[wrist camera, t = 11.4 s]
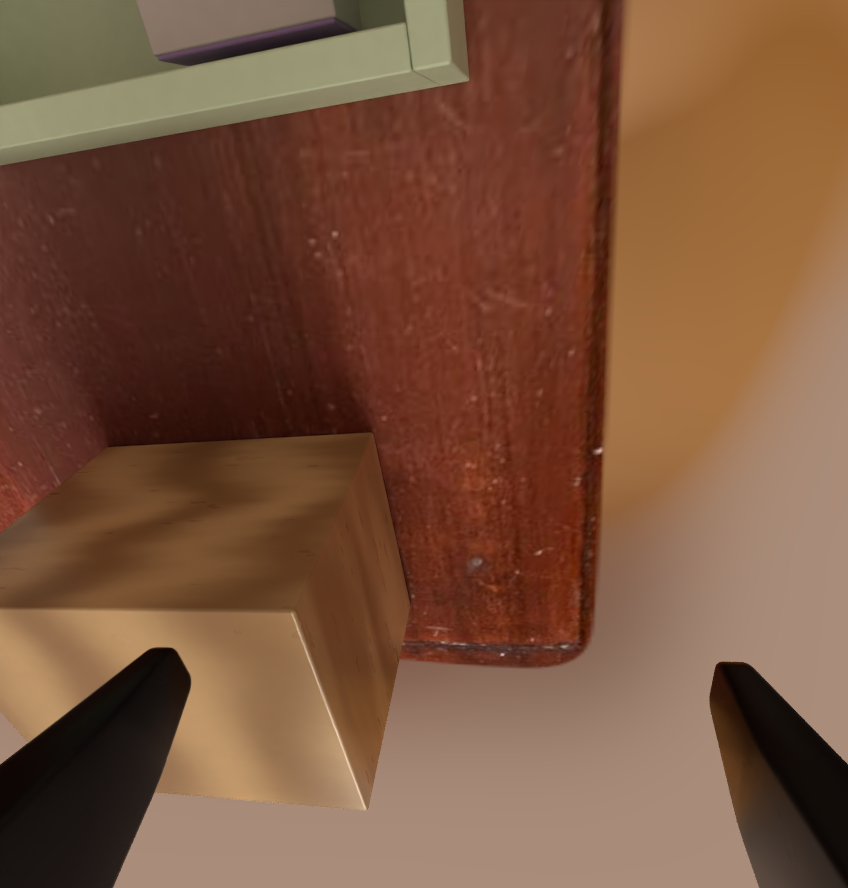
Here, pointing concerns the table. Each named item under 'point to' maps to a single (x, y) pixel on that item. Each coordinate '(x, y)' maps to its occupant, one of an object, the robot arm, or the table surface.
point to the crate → (219, 607)
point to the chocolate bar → (240, 26)
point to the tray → (198, 73)
